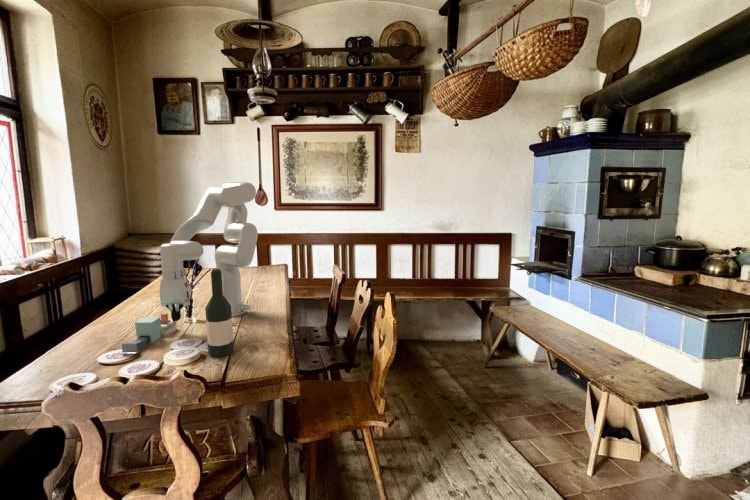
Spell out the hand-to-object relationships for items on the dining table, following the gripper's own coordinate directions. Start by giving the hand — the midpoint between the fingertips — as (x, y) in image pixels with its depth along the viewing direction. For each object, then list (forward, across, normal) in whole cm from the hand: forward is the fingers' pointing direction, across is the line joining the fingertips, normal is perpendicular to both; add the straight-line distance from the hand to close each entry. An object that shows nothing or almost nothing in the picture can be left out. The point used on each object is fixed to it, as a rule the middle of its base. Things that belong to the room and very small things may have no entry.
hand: (176, 320), depth 161 cm
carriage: (+5, +6, +9) cm, 12 cm away
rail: (+5, +6, +12) cm, 15 cm away
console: (+5, +7, 0) cm, 9 cm away
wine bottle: (+5, -25, +21) cm, 33 cm away
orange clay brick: (+1, +5, 0) cm, 5 cm away
